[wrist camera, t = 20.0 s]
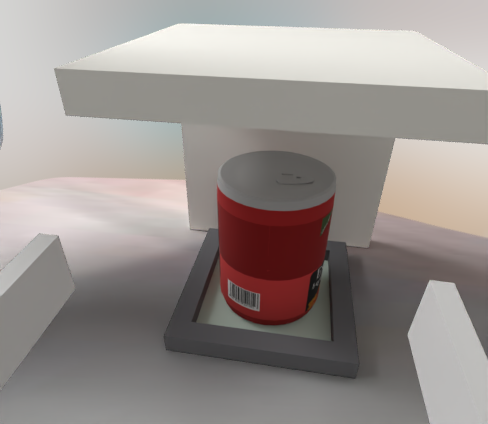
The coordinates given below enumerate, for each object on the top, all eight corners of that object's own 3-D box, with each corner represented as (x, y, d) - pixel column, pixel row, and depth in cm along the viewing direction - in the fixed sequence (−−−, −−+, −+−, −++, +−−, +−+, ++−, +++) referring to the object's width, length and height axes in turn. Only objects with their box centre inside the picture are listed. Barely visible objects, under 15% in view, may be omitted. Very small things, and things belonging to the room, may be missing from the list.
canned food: (329, 324, 28) (355, 198, 22) (223, 333, 27) (220, 205, 21) (304, 258, 34) (318, 147, 28) (217, 264, 33) (213, 151, 28)
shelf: (397, 398, 23) (523, 91, 13) (126, 356, 26) (53, 68, 15) (366, 238, 38) (415, 31, 27) (193, 221, 40) (179, 23, 30)
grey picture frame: (355, 378, 25) (359, 364, 24) (166, 349, 26) (164, 335, 25) (343, 254, 35) (345, 242, 35) (209, 240, 37) (209, 228, 36)
